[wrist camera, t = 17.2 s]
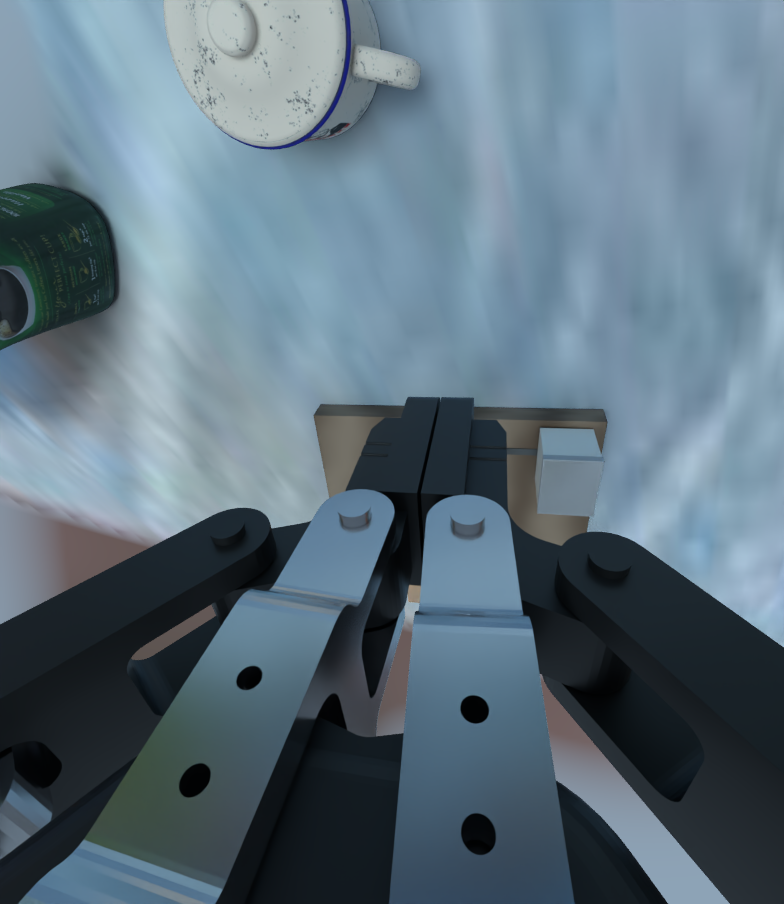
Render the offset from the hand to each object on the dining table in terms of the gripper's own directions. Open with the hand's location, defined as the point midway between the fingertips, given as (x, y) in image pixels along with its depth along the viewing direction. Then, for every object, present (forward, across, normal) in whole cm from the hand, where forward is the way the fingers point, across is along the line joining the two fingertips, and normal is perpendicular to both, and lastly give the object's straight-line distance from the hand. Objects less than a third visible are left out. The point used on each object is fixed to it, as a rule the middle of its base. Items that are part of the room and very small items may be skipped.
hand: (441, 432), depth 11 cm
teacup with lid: (+27, +9, -10) cm, 30 cm away
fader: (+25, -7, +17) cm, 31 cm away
